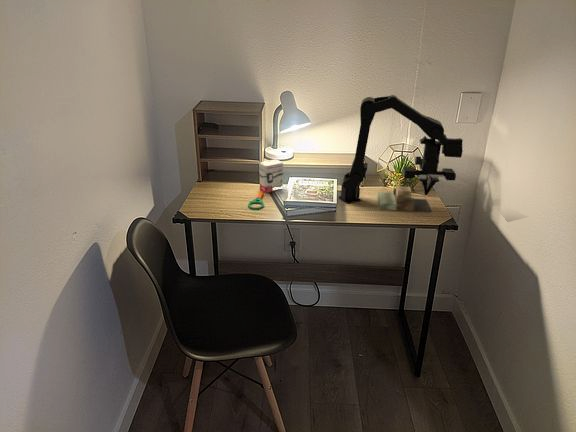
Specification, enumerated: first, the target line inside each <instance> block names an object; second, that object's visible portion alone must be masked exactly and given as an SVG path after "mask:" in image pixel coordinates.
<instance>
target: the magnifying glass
mask: <svg viewBox="0 0 576 432" xmlns="http://www.w3.org/2000/svg"><path fill="white" fill-rule="evenodd" d="M264 194H265V193H264V192H263V191H261V190H260V191H258V194H257V197H256V198H254V199H253V200H251V201H249V202H248V203H247V204H248V205H247V207H248V209H250V210H255V211H256V210H263V209H264V207H265V203H264V201H263V200H262V199H263V195H264ZM254 204H256V205H257V204H258V205H260V206H258V207H257V206H256V207H255V206H251V205H254Z"/></svg>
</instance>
